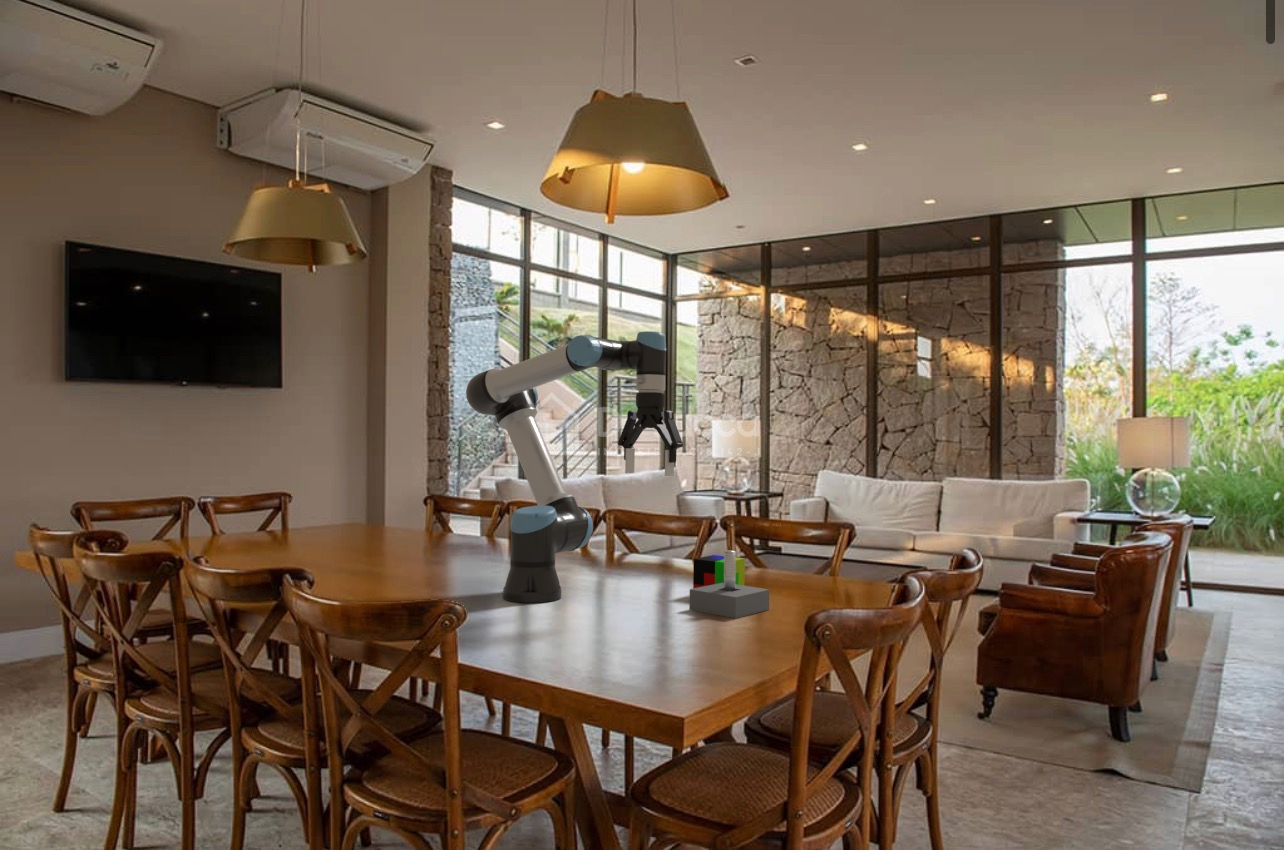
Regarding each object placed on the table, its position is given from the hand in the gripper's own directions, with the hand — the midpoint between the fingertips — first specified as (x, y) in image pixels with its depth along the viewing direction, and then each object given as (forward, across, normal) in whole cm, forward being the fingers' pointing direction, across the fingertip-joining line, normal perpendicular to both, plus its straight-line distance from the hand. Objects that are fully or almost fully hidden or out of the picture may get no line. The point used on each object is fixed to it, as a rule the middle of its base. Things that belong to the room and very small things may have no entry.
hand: (649, 474), depth 223 cm
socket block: (+32, +21, +7) cm, 39 cm away
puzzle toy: (+33, +8, +20) cm, 39 cm away
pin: (+31, +21, +7) cm, 38 cm away
